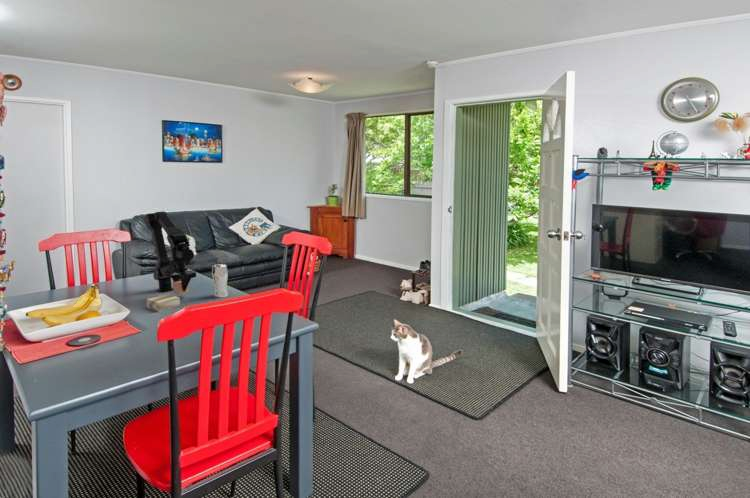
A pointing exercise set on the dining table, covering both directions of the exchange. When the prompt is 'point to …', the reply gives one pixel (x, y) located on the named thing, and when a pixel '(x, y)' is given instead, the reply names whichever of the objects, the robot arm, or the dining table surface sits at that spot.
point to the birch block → (163, 302)
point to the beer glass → (220, 279)
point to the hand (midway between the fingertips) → (181, 290)
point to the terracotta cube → (179, 288)
